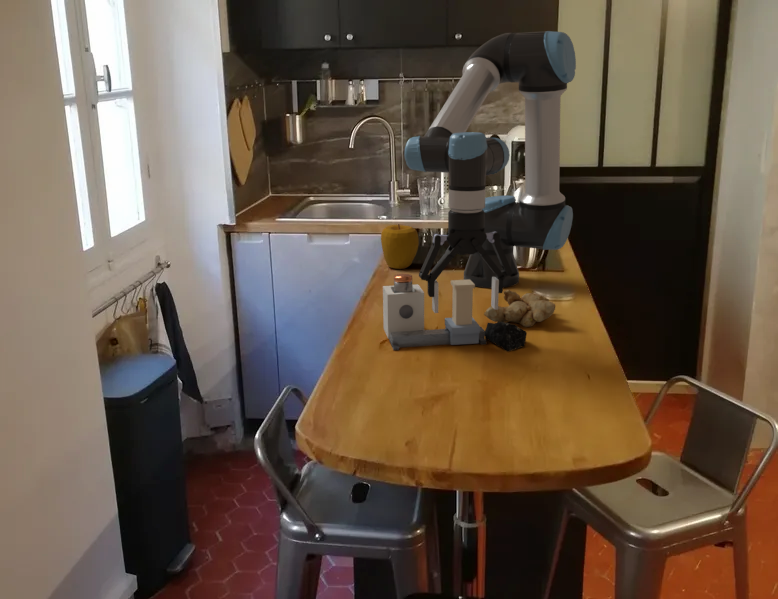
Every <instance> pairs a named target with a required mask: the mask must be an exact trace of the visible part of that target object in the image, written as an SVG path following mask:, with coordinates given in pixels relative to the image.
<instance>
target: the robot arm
mask: <svg viewBox="0 0 778 599" xmlns="http://www.w3.org/2000/svg"><path fill="white" fill-rule="evenodd" d="M576 64H577V60H576V51H575V47H574V44H573V42H572V39H571V37H570V36H569V35H568V34H567V33H565V32H563V31H551V30H547V31H530V32H505V33H501V34H500V35H497V36H495V37H492V38H490V39H489V40H488V41H486V42H485V43H483V44H482V45H481V46H479V47H478V48H477V49H476V50H475V51H474V52H472V53H471V55H470V56H469V57H468V59H467V60H466V62H465V63H464V64H463V68H462V72H461V73H462V76H461V78H459V80H458V83H457V84H456V85H455V87H454V88H453V90H452V92H451V93H450V95H449V96H448V98H447V99H446V101H445V103H444V104H443V106H442V107H441V109H440V111H439V113H438V114H437V116H436V117H435V118H434V120H433V122H432V123H431V125H430V126H429V128H428V130H426V133H425V134H424V136H421V135H418V136H412V137H409V139H408V140H407V141H406V143H405V147H404V160H405V162H406V166H407V167H408V169H409V170H412V171H417V172H424V173H448V204H447V206H448V208H449V209H450V210H449V211H448V213H447V214H448V217H447V218H448V219H447V221H448V222H447V224H448V225H447V233H446V234H439V233H433V234H432V240H431V241H432V242H431V243H432V244H431V246H430V248H429V250H428V252H427V255H426V257H425V259H424V262H423V264H422V267H421V268H420V270H419V273H418V277H419V278H420V280H421V281H426V283H427V295H428V297H429V298H432V299H431V301H432V303H431V310H432V311H433V313H434V314H438V313H439V282H438V280H437V279H438V278H439V276H440V275H441V274H442V273H443V271H444V270H445V269H446V268H447V266H448V265H449V263H451V261H452V260H453V258H455V257H456V256H457V255H459V256H461V255H462V256H464V255H469V258H468V260H467V263H466V265H465V269H464V270H463V280H468V279H470V280H471V281H472V282H473V283H474V284H475V287H478V288H484V289H485V288H488V289H489V288H490V289H491V302H490V305H491V306H492V307H493V308H494V310H498V306H499V294H503V293H504V288H509V287H512V286H516V285H518V284H519V283H520V270H519V268H518V265H517V261H516V258H515V255H514V248H515V247H518V248H530V249H537V250H539V249H540V250H543V251H545V250H553V251H556V250H557V251H558V250H560V249H561V248H563V247H564V246H565V244H566V242H567V241H568V238H569V235H570V233H571V228H572V226H573V219H574V213H573V212H574V211H573V208H572V206H569V205H567V204H566V197H565V195H564V194H563V193H562V192H560V164H561V162H560V160H561V159H560V158H561V157H560V155H561V154H560V153H561V150H560V149H561V97H562V95H563V94H564V93H565V92H566V91H567V90H568V84H569V83H571V82H572V81H573V80H574V79H575V76H576V69H577V65H576ZM504 83H517V84H518V92H519V93H520V94H521V95H522V96H523V98H524V148H525V149H524V166H525V167H524V172H525V174H524V176H525V177H524V178H525V179H524V181H525V182H524V183H525V186H524V188H525V190H524V193H523V194H522V195H520V196H519V202H517V199H516V196H514V195H495V196H488V197H486V179H487V177H486V176H490V175H495V174H497V173H499V172H500V171H502V170H503V169H505V167H506V166H507V164H508V163H509V161H510V149H509V147H508V145H507V143H506V142H505V141H504V140H502V139H501V138H497V137H487V136H486V134H485V133H483V132H475V131H474V132H473V131H471V132H470V131H468V129H469V127H470V125H471V123H472V122H473V120H474V118H475V117H476V115H477V114H478V112H479V110H480V109H481V106H482V105H483V103H484V102H485V100H486V99H487V98H488V97H487V96H488V95H489V94H490V92H493V91H495V90H496V89H497V88H498V86H499V85H500V84H504ZM467 131H468V132H467ZM445 242H447V243H448V244H449V246H448V247H447V249H446V250H445V252H444V253H443V255H442V256H441V257H440V259H439V260H438V261H437V263H436V264H435V265H434V262H435V260H436V257H437V255H438V253H439V251H440V249H441V246H443V244H445ZM433 265H434V267H433ZM432 267H433V268H432ZM491 306H490V307H491Z"/></svg>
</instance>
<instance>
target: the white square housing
mask: <svg viewBox="0 0 778 599" xmlns="http://www.w3.org/2000/svg"><path fill="white" fill-rule="evenodd" d="M382 301H383V302H382V310H383V311H382V314H383V316H382V317H383V318H382V319H383V331H384V333H385V334H386V337H387V339H389V337H390V332H402V331H418V330H425V292H424V290H423V289H422V288H421V286H420V285H419V284H412V292H404V293H394V285H383V286H382Z"/></svg>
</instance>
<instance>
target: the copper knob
mask: <svg viewBox="0 0 778 599" xmlns="http://www.w3.org/2000/svg"><path fill="white" fill-rule="evenodd" d="M412 285H413V275H412V274H409V273H397V274H395V275H393V286H394V293H404V292H412Z"/></svg>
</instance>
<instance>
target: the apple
mask: <svg viewBox="0 0 778 599" xmlns="http://www.w3.org/2000/svg"><path fill="white" fill-rule="evenodd" d="M380 241H381V242H380V243H381V248H382V254H383V258H384V260H385V263H386V265H387V266H388V267H389V268H391V269H397V270H403V269H407V268H408V267H410V266H411V265H412V263H413V261H414V259H415V257H416V255H417V253H418V249H419V245H420V244H419V241H420V240H419V234H418V231H417V230H416V228H415V227H413V226H410V225H403V224H402V225H401V224H400V223H398V224H391V225H387V226H385V228H383V229H382V231H381V233H380Z"/></svg>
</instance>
